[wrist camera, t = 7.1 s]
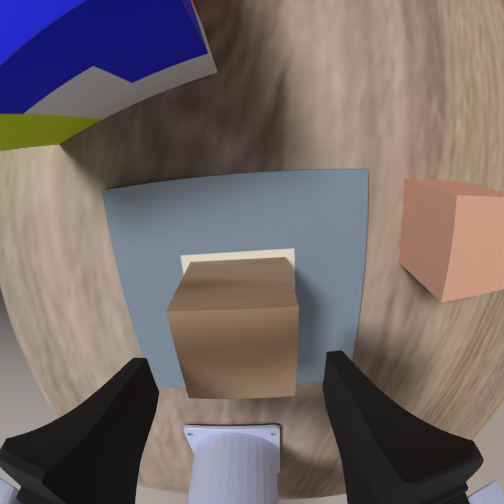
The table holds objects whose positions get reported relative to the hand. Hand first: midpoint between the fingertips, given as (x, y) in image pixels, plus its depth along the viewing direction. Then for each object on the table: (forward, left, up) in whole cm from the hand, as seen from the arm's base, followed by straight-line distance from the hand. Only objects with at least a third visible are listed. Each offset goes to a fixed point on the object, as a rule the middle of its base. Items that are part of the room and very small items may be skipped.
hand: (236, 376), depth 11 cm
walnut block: (0, 0, -6) cm, 6 cm away
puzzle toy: (+16, +6, -7) cm, 19 cm away
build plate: (0, 0, -6) cm, 6 cm away
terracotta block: (+4, -12, -6) cm, 14 cm away
